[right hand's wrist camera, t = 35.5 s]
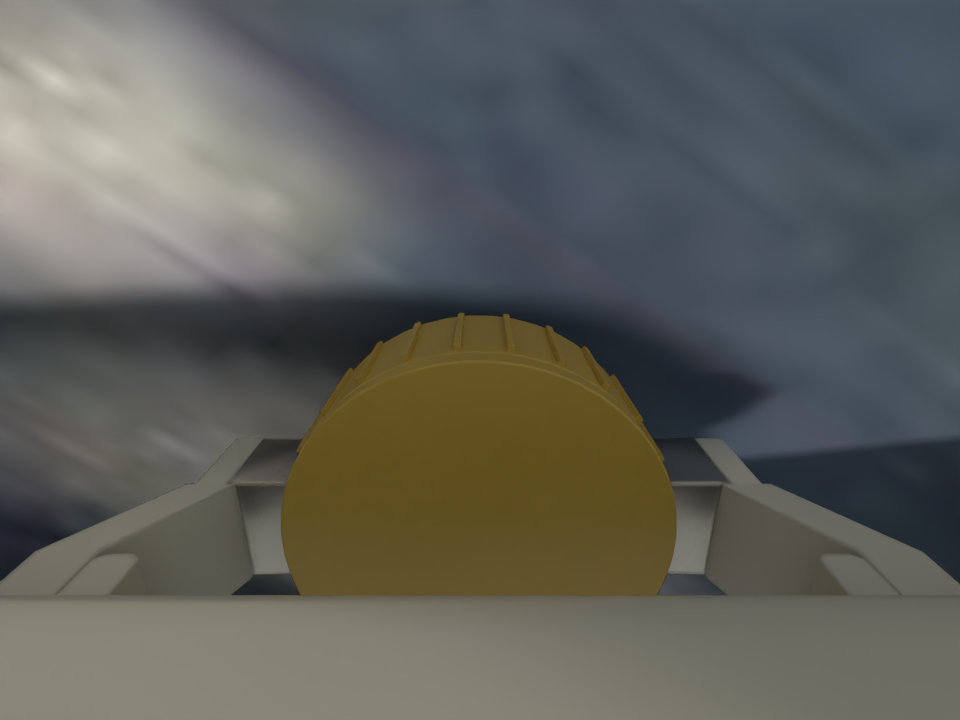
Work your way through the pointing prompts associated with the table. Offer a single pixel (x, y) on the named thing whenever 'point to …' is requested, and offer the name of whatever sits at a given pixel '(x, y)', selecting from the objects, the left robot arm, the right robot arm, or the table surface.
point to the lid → (478, 472)
